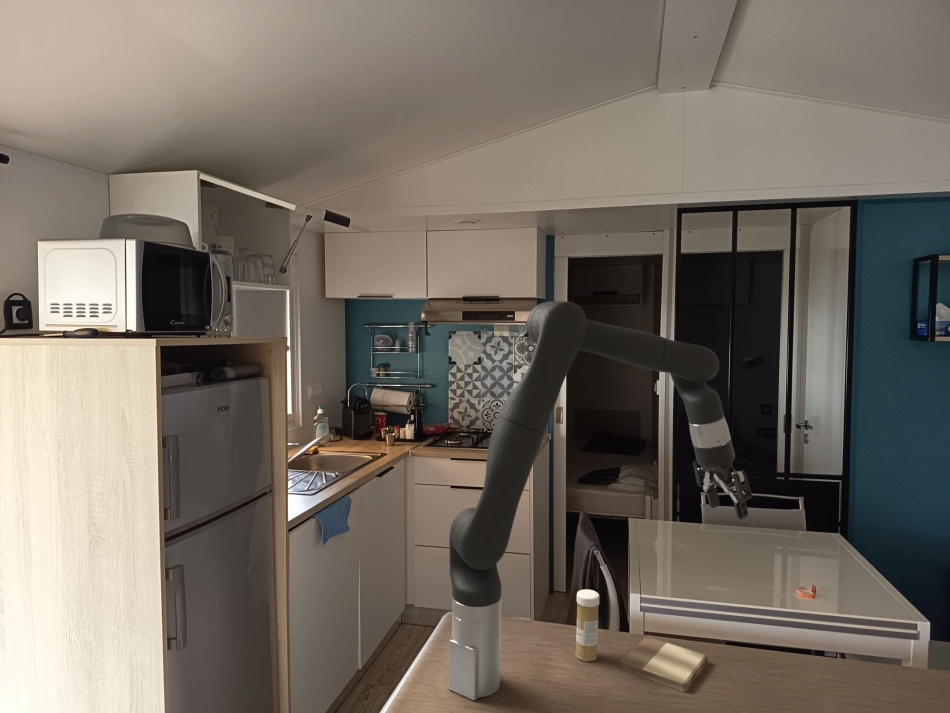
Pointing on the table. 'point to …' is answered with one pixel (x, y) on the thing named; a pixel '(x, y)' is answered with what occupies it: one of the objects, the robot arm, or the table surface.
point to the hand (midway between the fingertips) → (728, 511)
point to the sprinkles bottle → (587, 625)
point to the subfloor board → (665, 663)
